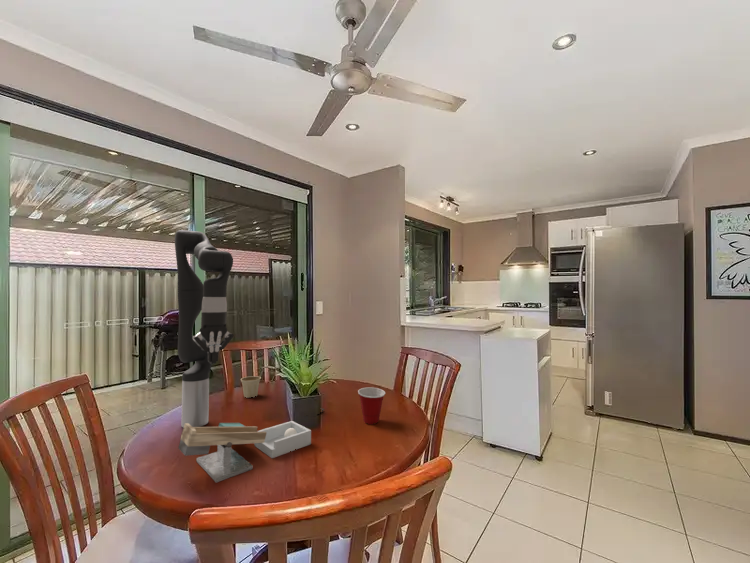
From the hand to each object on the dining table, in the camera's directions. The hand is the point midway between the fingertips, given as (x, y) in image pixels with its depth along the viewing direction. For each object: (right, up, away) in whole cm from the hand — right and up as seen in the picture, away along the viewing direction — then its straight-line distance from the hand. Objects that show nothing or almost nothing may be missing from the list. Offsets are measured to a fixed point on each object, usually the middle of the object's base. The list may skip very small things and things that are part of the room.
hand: (212, 363), depth 111 cm
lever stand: (+9, -27, -13) cm, 31 cm away
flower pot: (-8, -30, +54) cm, 62 cm away
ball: (+25, -25, +3) cm, 35 cm away
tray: (+23, -27, 0) cm, 36 cm away
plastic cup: (+52, -28, +21) cm, 63 cm away
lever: (+5, -22, -9) cm, 24 cm away
